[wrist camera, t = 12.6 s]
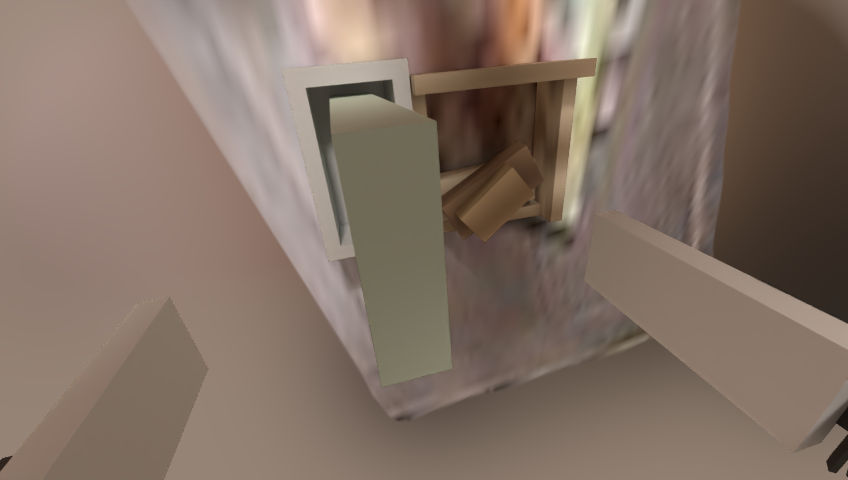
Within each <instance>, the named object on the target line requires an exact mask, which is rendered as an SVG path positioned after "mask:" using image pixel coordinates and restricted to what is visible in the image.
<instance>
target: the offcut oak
mask: <svg viewBox="0 0 848 480" xmlns="http://www.w3.org/2000/svg"><path fill="white" fill-rule="evenodd" d="M533 195H534V193H533V192H532V190H531V189H530V188H529V187H528V185H527V184H526V183H525V182H524V181H523V179H522V178H521V177H520V176H519V175H518V173H517V172H516V171H515V170H514V168H513V167H511V166H509V165H507V164H505V163H504V164H503V165H502V166H501V167H500V168H499V169H498V170H497V171H496V172H495V173H494V174H493V175H492V176H491V177H490V178H489V179H488V180H487V181H486V182H485V183H484V184H483V185H482V186H481V187H480V188H479V189H478V190H477V191H476V192H475V193H474V194H473V195H472V196H471V197H470V198H469V199H468V200H467V201H466V202H465V203H464V204H463V205H462V206H461V207H460V208H459V209H458V210H457V211H456V212H455V214H456V215H457V216H458V217H459V218H460V219H461V220H462V221H463V222H464V223H465V224H466V225H467V226H468V227H469V228H470V229H471V230H472V231H473V232H474V233H475V234H476V235H477V236H478V237H479V238H480V239H482V240H483V241H484V242H486V241H487V240H488V239H489V238H490V237H491V236H492V235H493V234H494V233H495V232H496V231H497V230H498V229H499V228H500V227H501V226H502V225H503V224H504V223H505V222H506V221H508V220H509V219H510V218H511V217H512V216H513V215H514V214H515V213H516V212H517V211H518V210H519V209H520V208H521V207H522V206H523V205H524V204H525V203H526V202H527V201H528V200H529V199H530V198H531V197H532V196H533Z"/></svg>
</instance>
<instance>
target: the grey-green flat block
mask: <svg viewBox="0 0 848 480" xmlns="http://www.w3.org/2000/svg"><path fill="white" fill-rule="evenodd" d="M329 101H330V126H331V138H332V143H333V148H334V152H335V157H336V162H337V167H338V172H339V177H340V182H341V187H342V192H343V197H344V202H345V207H346V212H347V217H348V222H349V227H350V232H351V237H352V242H353V247H354V252H355V257H356V261H357V266H358V271H359V276H360V281H361V286H362V291H363V296H364V301H365V306H366V311H367V316H368V321H369V326H370V331H371V336H372V341H373V346H374V351H375V356H376V361H377V365H378V370H379V375H380V380H381V385H382V387H386V386H389V385H393V384H397V383H401V382H404V381H408V380H412V379H416V378H419V377H423V376H427V375H431V374H434V373H438V372H442V371H446V370H449V369H452V359H451V343H450V327H449V311H448V295H447V279H446V263H445V247H444V231H443V215H442V199H441V183H440V167H439V151H438V135H437V121H435V120H433V119H431V118H428V117H426V116H423V115H421V114H419V113H416V112H414V111H411V110H409V109H407V108H404V107H402V106H400V105H397V104H395V103H392V102H390V101H388V100H385V99H383V98H380V97H378V96H376V95H373V94H371V93H369V92H362V93H352V94H343V95H333V96H329Z"/></svg>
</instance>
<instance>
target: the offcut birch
mask: <svg viewBox="0 0 848 480" xmlns="http://www.w3.org/2000/svg"><path fill="white" fill-rule="evenodd" d="M534 161H535V159H534ZM484 164H485V163H483V164H479V165H474V166H470V167H465V168H461V169H456V170H452V171H447V172H443V173H440V183H441V196H442V195H444V194H445V193H446V192H448V191H449V190H450V189H452V188H453V187H454V186H456V185H457V184H458V183H460V182H461V181H462V180H464V179H465V178H466V177H468V176H469V175H470V174H472V173H473V172H474V171H476V170H477V169H478V168H480V167H481V166H482V165H484ZM532 192H533V193H534V195H533V196H532V197H531V198H530V199H529V200H533V199H535V188H534V189H532ZM529 200H528V201H529ZM442 215H443V221H447V220H449V219H448V218H447V216H446V215H445V214H444V212H443V211H442Z"/></svg>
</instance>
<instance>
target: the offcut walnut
mask: <svg viewBox="0 0 848 480" xmlns="http://www.w3.org/2000/svg"><path fill="white" fill-rule="evenodd" d="M504 163H505V164H507V165H509V166H511V167H513V168H514V170H515V171H516V172H517V173H518V175H519V176H520V177H521V178H522V179H523V181H524V182H525V183H526V184H527V185H528V187H529V188H530V189H531V190H532V189H534V188H535V187H536V186H538V185H539V184H540V183H542V182H543V181H544V180H543V178H542V176H541V174H540V172H539V170H538V168H537V165H536V163H535V161H534V159H533V157H532V155H531V153H530V151H529V149H528V147H527V145H525V144H523V143H520V142H517V141H515V142H513V143H512V144H511V145H509V146H508V147H507V148H505V149H504V150H503V151H501V152H500V153H498V154H497V155H496V156H494V157H493V158H492V159H490V160H489V161H488V162H486V163H485V164H484V165H482V166H481V167H480V168H478V169H477V170H476V171H474V172H473V173H472V174H470V175H469V176H468V177H466V178H465V179H464V180H462V181H461V182H460V183H458V184H457V185H456V186H454V187H453V188H452V189H450V190H449V191H448V192H446V193H445V194H444V195H442V196H441V199H442V211H443V212H444V214H445V215H446V216H447V218H448V219H449V221H450V222H451V223H452V225H453V226H454V228H455V229H456V230H457V232H458V233H459V234H460V235H461V237H462V238H463V239H466V238H467V237H468V236H470V235H471V234H472V233H474V232H473V231H472V230H471V229H470V228H469V227H468V226H467V225H466V224H465V223H464V222H463V221H462V220H461V219H460V218H459V217H458V216H457V215H456V214H455V212H456V211H457V210H458V209H459V208H460V207H461V206H462V205H463V204H464V203H465V202H466V201H467V200H468V199H469V198H470V197H471V196H472V195H473V194H474V193H475V192H476V191H477V190H478V189H479V188H480V187H481V186H482V185H483V184H484V183H485V182H486V181H487V180H488V179H489V178H490V177H491V176H492V175H493V174H494V173H495V172H496V171H497V170H498V169H499V168H500V167H501V166H502V165H503V164H504Z"/></svg>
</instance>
